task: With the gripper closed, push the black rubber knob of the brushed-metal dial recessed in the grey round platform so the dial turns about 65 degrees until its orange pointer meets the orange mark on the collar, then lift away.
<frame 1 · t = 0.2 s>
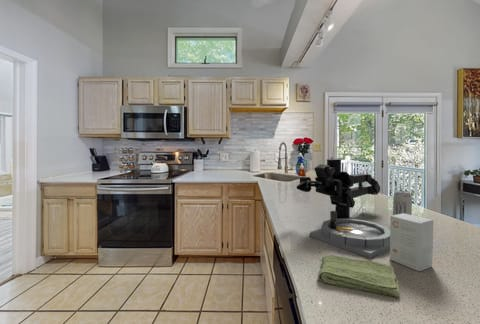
hand: (306, 188, 95), 17 cm above the counter, tool horizontal, fingers open, 9 cm apart
washcloth: (356, 279, 62), on the counter
small box: (410, 263, 69), on the counter
dial: (355, 224, 87), point 5 cm above the counter, hinge at 0.0°
grey round platform: (354, 238, 87), on the counter
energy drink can: (401, 230, 95), on the counter
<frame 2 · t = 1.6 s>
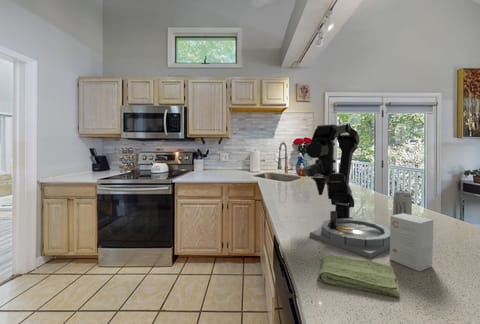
hand: (325, 196, 96), 13 cm above the counter, tool pointing down, fingers open, 8 cm apart
nothing on the counter moved.
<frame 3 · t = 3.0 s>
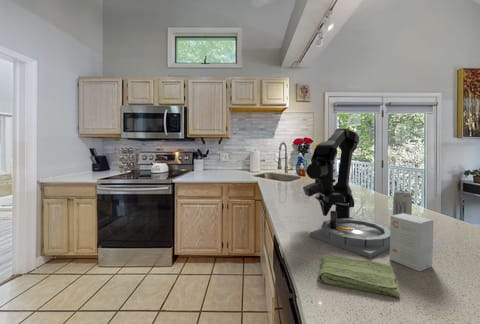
hand: (324, 215, 96), 6 cm above the counter, tool pointing down, fingers closed
nothing on the counter moved.
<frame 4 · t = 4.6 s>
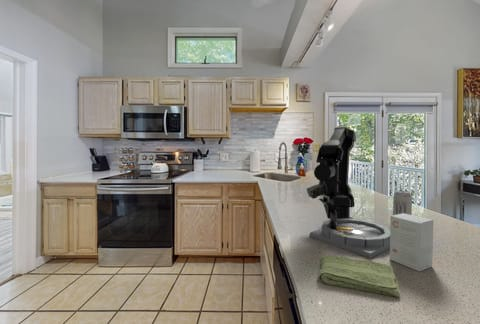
hand: (329, 218, 93), 6 cm above the counter, tool pointing down, fingers closed
dial: (355, 224, 87), point 5 cm above the counter, hinge at 1.0°, touching gripper
everything else where it was.
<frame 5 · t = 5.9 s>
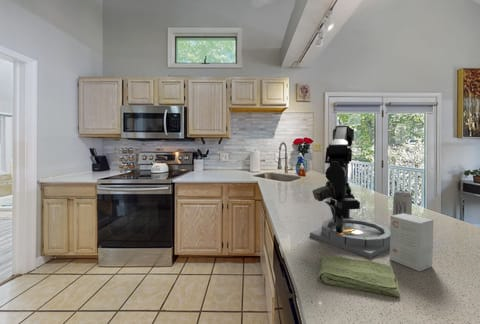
hand: (336, 222, 87), 6 cm above the counter, tool pointing down, fingers closed
dial: (355, 224, 87), point 5 cm above the counter, hinge at 46.6°, touching gripper
everything else where it was.
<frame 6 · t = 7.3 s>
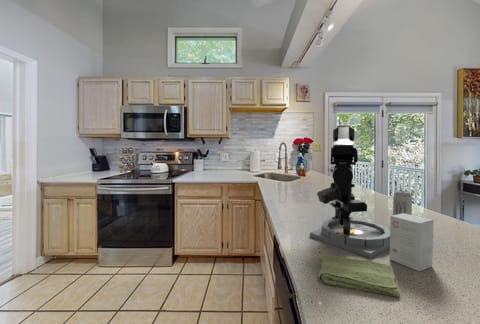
hand: (342, 225, 85), 6 cm above the counter, tool pointing down, fingers closed
dial: (355, 224, 87), point 5 cm above the counter, hinge at 68.9°, touching gripper
everything else where it was.
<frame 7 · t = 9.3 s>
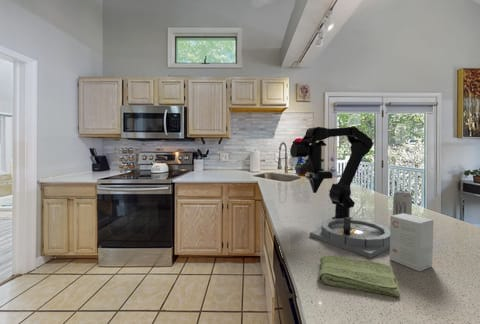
hand: (314, 192, 105), 13 cm above the counter, tool pointing down, fingers closed
dial: (355, 224, 87), point 5 cm above the counter, hinge at 69.2°
everything else where it was.
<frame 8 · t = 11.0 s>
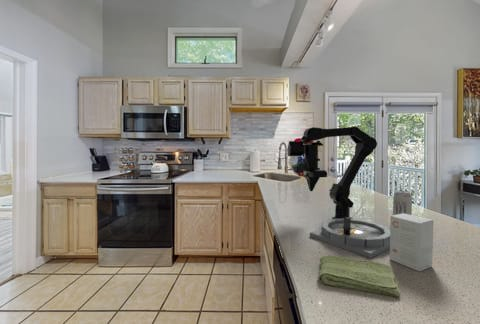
hand: (311, 191, 109), 13 cm above the counter, tool pointing down, fingers closed
nothing on the counter moved.
at the end: dial at +69° (first picture: +0°) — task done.
